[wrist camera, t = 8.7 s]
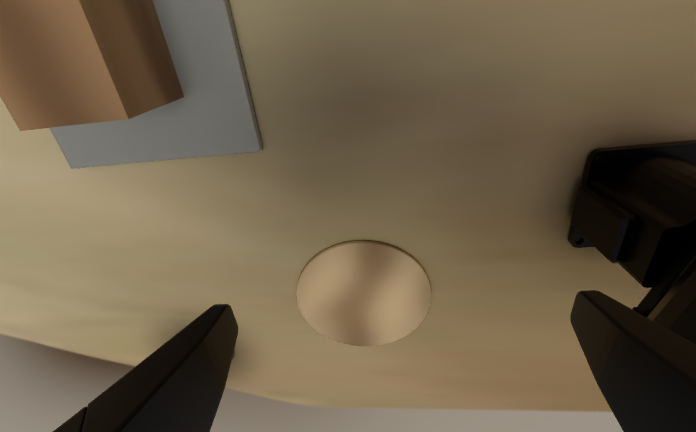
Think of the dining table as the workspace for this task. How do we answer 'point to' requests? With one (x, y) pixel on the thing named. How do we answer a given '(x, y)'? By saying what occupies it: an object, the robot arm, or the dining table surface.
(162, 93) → the walnut block
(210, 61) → the slate coaster
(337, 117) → the dining table surface
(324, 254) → the cork coaster
